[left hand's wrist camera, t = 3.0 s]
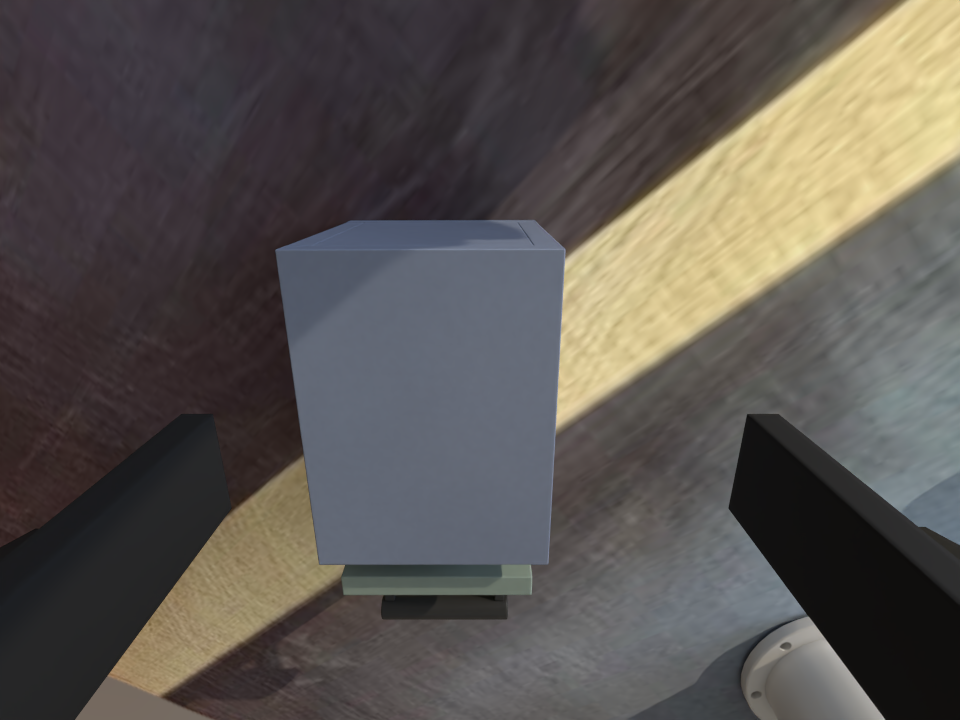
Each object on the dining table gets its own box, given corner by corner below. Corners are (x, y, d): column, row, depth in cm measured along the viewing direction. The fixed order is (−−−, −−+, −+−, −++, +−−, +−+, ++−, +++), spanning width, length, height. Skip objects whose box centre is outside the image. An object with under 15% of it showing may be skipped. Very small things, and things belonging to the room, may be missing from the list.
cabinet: (527, 441, 35) (548, 565, 24) (369, 441, 35) (318, 565, 24) (534, 220, 30) (565, 248, 19) (350, 220, 30) (274, 249, 19)
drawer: (516, 553, 37) (528, 676, 28) (384, 553, 37) (352, 676, 28) (523, 295, 31) (541, 348, 22) (362, 295, 31) (312, 348, 22)
